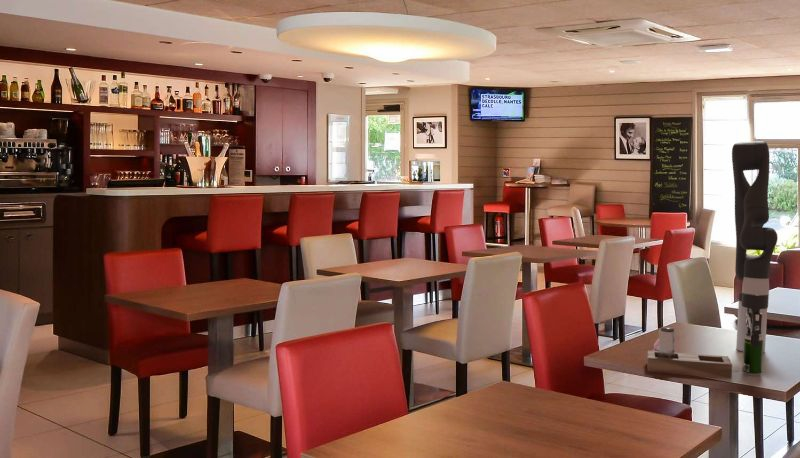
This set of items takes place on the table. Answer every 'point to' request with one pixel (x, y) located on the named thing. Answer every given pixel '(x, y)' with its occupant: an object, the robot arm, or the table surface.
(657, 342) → the lily
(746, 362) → the beer can
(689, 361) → the caddy
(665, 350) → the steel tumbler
